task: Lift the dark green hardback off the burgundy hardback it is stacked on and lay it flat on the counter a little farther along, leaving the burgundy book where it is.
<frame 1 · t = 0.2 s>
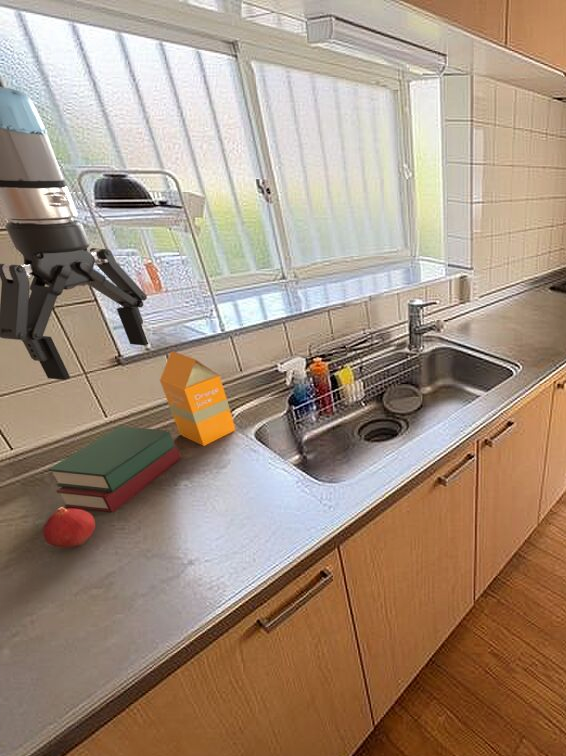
hand: (103, 359, 68), 28 cm above the counter, tool pointing down, fingers open, 13 cm apart
green book: (120, 465, 81), point 4 cm above the counter, touching burgundy book
burgundy book: (128, 481, 83), on the counter, touching green book
orange juice: (208, 432, 99), on the counter
pomegranate: (79, 545, 70), on the counter
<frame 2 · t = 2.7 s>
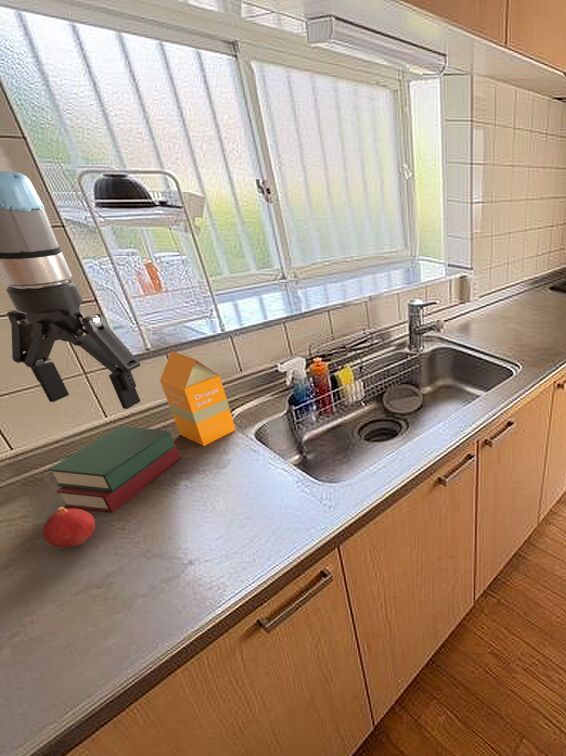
hand: (95, 401, 74), 19 cm above the counter, tool pointing down, fingers open, 13 cm apart
nothing on the counter moved.
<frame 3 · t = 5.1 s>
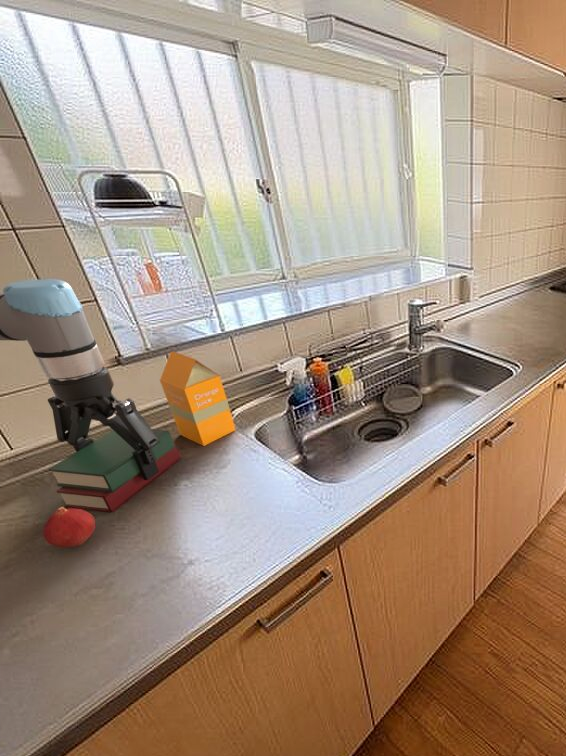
hand: (124, 472, 82), 2 cm above the counter, tool pointing down, fingers closed on green book, 10 cm apart
green book: (120, 465, 81), point 4 cm above the counter, touching burgundy book, gripper
everything else where it was.
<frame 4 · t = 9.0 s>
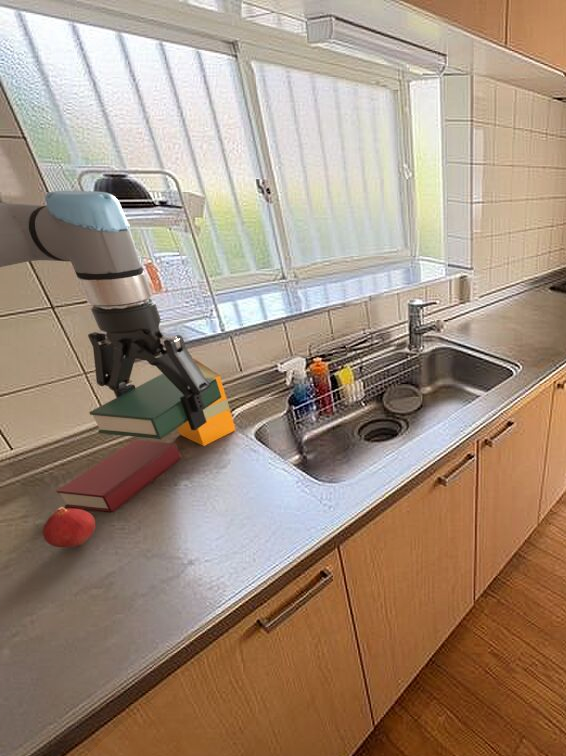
hand: (168, 423, 74), 16 cm above the counter, tool pointing down, fingers closed on green book, 10 cm apart
green book: (165, 413, 74), point 18 cm above the counter, touching gripper
burgundy book: (128, 481, 83), on the counter
everything else where it was.
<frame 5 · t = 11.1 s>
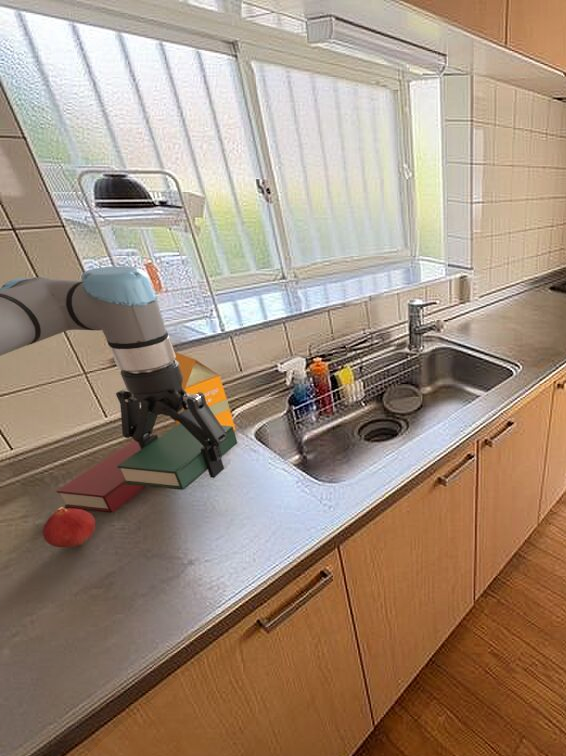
hand: (188, 470, 79), 5 cm above the counter, tool pointing down, fingers closed on green book, 10 cm apart
green book: (185, 462, 78), point 7 cm above the counter, touching gripper
everything else where it was.
when the fingers open (0 cm above the counter, at t = 13.1 s): green book drops 2 cm, on the counter.
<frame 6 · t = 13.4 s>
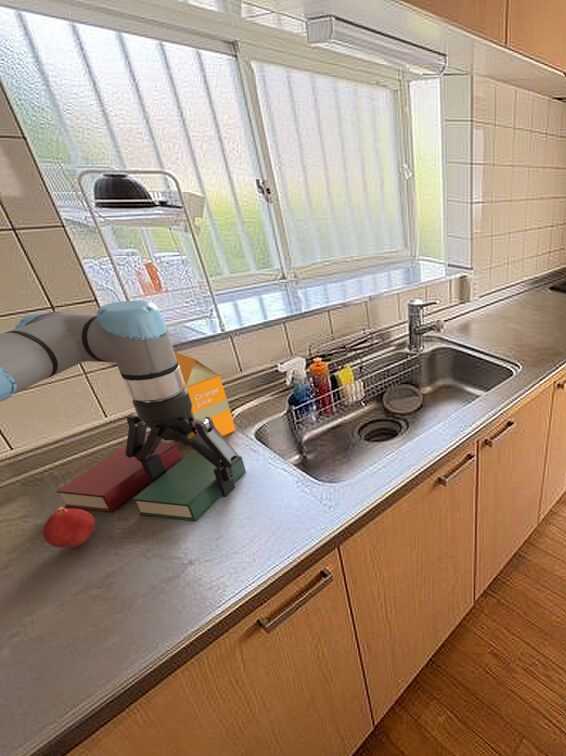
hand: (195, 488, 81), 1 cm above the counter, tool pointing down, fingers open, 13 cm apart
green book: (197, 492, 82), on the counter
everything else where it was.
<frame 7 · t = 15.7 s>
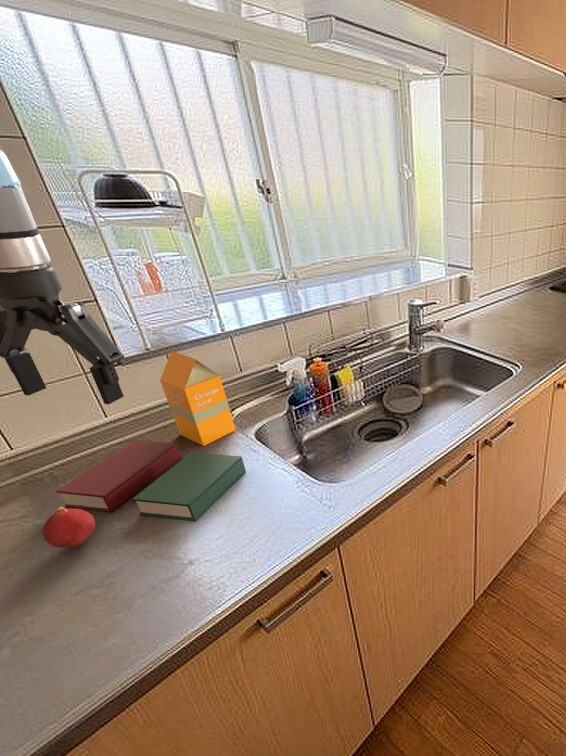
hand: (75, 396, 70), 22 cm above the counter, tool pointing down, fingers open, 13 cm apart
nothing on the counter moved.
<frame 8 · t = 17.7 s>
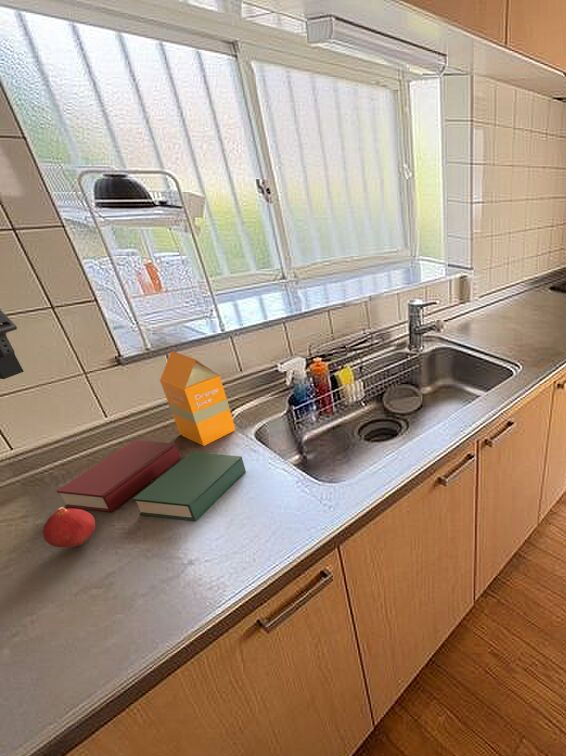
nothing on the counter moved.
at the end: green book inside the target area (0.0 cm from its centre), on the counter; green book tilted 0°; burgundy book moved 0.0 cm from its start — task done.
